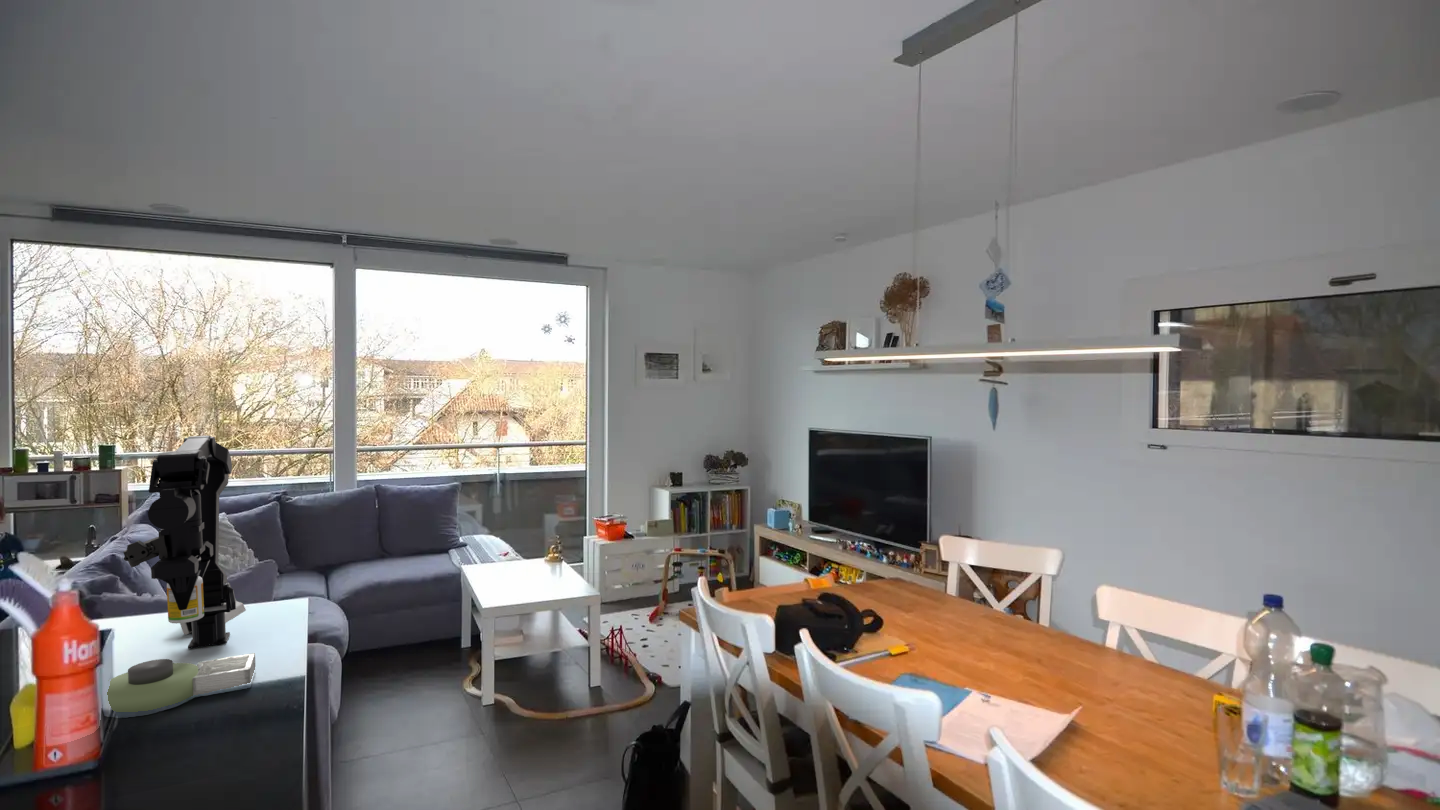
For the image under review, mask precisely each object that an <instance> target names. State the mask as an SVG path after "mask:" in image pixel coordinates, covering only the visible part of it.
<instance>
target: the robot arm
mask: <svg viewBox="0 0 1440 810" xmlns="http://www.w3.org/2000/svg"><path fill="white" fill-rule="evenodd" d="M232 462H233V461H232V458H231V454H230V451H229V449H228V448H227V447H224V445H222V444H219V443H218V442H217V440H216V438H215V436H211V435H192V436H187V437H185V438H183V443H182V444H181V445H180V446H179V447H178V448H177V449H176V450H173V451H164V452H160V453H158V455H157V456H156V458H155V459H153V461H152V464H151V465H152V466H151V473H150V481H149V487H148V493H149V494H155V493H159V498H158V499H157V498H156V500H154V501H153V502H152V503H151V504H150V505H149V509H148V511H147V517H148V521H149V522H150V523H151V524H152V525H153V526H154V527H156V528H158V529H160V530H159V531H158V536H156V537H154V538H151V539H148V540H146V541H141V540H137V541H135V542H132V543H129V544H127V546H126V549H125V550H124V551H123V553H122V554H123V555H124V556H123V560H124V561H125V562H128V564H129V566H130V568H135V567H137V566H139V565H140V564H141V563H144V562H147V561H149V560H153V559H155V558H157V557H158V561H157V562H156V563H154V565H152V566H151V567H150V574H151V575H150V576H151V579H153V580H156V579H157V580H159V581H163V582H164V583H166V584H167V583H168V584H169V586H170V588H171V590H172V593H173V595H174V598H175V601H176V603H177V606H178V609H179V610H185V609H187V607H188V604H189V601H190V598H191V596H192V593H193V590H194V587H195V585H196V582H197V579H198V577H199V576H200V577H201V578H202V579H203V597H204V616H203V617H202V618H200V619H198V620H195V621H192V632H191V640H190V642H189V643H188V645H187V649H188V650H189V649H197V648H202V647H209V646H210V647H211V646H216V645H223V644H226V643H227V641H228V640H229V638H230V635H231V632H229V631H227V630H226V623H225V612H230V611H231V610H235V609H236V601H237V599H236V595H235V590H234V588H233V587H232V586H231V582H228V575H227V574H226V573H225V571H224V570H223V569H222V567H221V566H220V565H219V553H220V552H219V551H220V550H219V548H220V546H219V545H220V543H219V542H220V541H219V540H220V535H219V534H220V530H219V529H220V496H221V494H222V492H223V491H224V490H225V489H226V487H227V486H228V484H229V475H231V474H232V472H233V463H232ZM235 599H236V600H235ZM224 603H226V604H224ZM226 631H227V632H226Z"/></svg>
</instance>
